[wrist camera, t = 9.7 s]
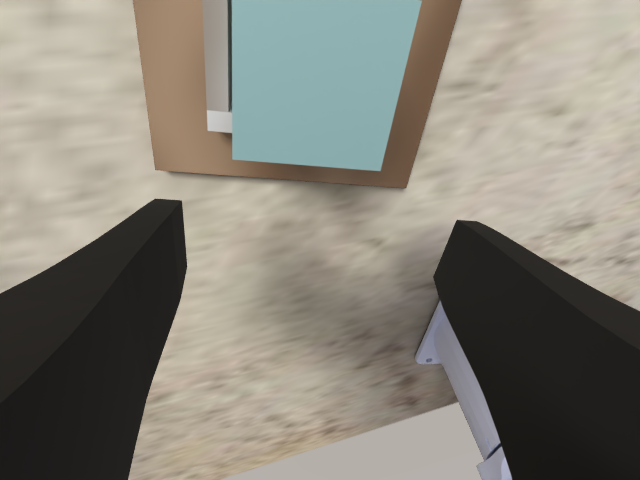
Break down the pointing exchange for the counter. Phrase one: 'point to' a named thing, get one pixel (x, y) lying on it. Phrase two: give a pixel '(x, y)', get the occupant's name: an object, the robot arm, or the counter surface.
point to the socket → (216, 93)
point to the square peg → (318, 79)
